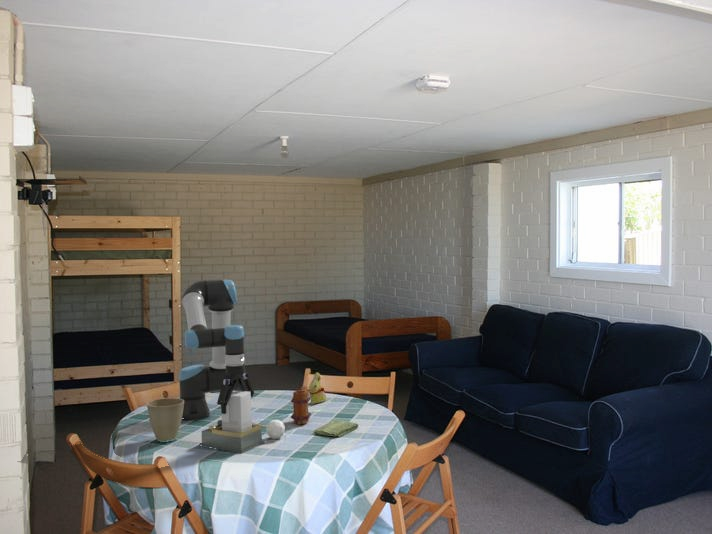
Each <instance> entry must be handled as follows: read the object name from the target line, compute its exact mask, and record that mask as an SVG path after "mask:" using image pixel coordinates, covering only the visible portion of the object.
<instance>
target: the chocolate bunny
mask: <svg viewBox="0 0 712 534" xmlns="http://www.w3.org/2000/svg"><path fill="white" fill-rule="evenodd" d="M322 378H323V375H321V374H320V373H319V372H315V373H314V375H313V378H312V380H311V382H310V383H309V385H308V394H309V398H310V404H311V405H315V404H319V403H322V402H326V401H327V396H326V391H325V388H324V387H323V386H322V385H321V381H322Z"/></svg>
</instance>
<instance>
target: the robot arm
mask: <svg viewBox="0 0 712 534" xmlns="http://www.w3.org/2000/svg"><path fill="white" fill-rule="evenodd" d="M181 304H182V305H181V306H182V307H183V308H184V309H185V310H184V311H185V315H186V321H187V329H188V330H185V331H184V346H185V348H186V349H188V350H189V349H191V350H193V349H195V350H196V349H207V348H211V350H212V351H211V352H212V354H211V355H212V356H211V357H212V358H211V359H212V360H211V361H210V362H209V364H208V365H209V366H208V367H206V366H205V365H204V364H193V365H189V366H185V367H183V368H181V369H180V370H179V373H178V375H179V377H178V381H179V399H182V400H184V407H183V414H182V418H184V419H194V420H199V418H201V419H205V418H208V417H210V416H211V415H210V414H211V410H210V407H209V405H208V402H207V398H206V393H216V392H219V395H218V398H217V401H216V404H217V406H218V405H219V406H220V409H221V420H222V421H223V422H229V405H227V403H228V401H229V399H230V396H231V394H232V392H233V391H236V390H235V389H238V388H239V389H240V391H248V392H251V398H253V397H254V395H255V390H254V388H253V385H252V383H251V380H250V375H249V373H246V365H245V331H244V326H243V325H240V324H232V325H231V318H232V316H231V312H232V311H233V310H234V308H235V306H236V305H238V296H237V290H236V286H235V283H234V281H233V280H231V279H214V280H213V279H211V280H209V279H208V280H197V281H195V282H193V283H191V284H190V285H189V286H188V287H187V288H185V290H184V291H183V293H182V296H181ZM204 307H208V308H207V309H208V311H209V312H211V328H208V325H207V322H206V316H205V311H204V310H205V309H204ZM204 417H205V418H204Z"/></svg>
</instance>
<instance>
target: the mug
mask: <svg viewBox="0 0 712 534" xmlns="http://www.w3.org/2000/svg"><path fill="white" fill-rule="evenodd" d="M292 396H293V397H292V398H291V400H290V402H291V403H292V404H293V413H292V415H291V416H290V418H291V419H292V420H293V422H294V424H295V425H306V424H307V423H309V421H310V420H309V419H310V418H311V415H312V413H311V412H309V401H311V397H310V393H309V387H307V385H302V386H301V388H300V390H295V391H293V394H292Z"/></svg>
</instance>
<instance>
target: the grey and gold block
mask: <svg viewBox="0 0 712 534" xmlns="http://www.w3.org/2000/svg"><path fill="white" fill-rule="evenodd" d="M216 423H217V424H216V425H209V426H208V428H206V429H204V430H202V431H201V442H200V443H199V444H198V446H199V445H202V446H206V447H212V448H216V449H215V450H218V449H222V450H221V451H224V450H227V451H226V452H230V451H232V452H231V453H236V452H237V453H236V454H244V453H246V452H248V451H251V450H252V449H255V448H257V447H259V446H262V445H264V444H265V443H266V442H265V441H266V440H264V439H262V438H263V437H262V436H263V435H262V433H263V432H262V429H263V424H260V423H255V422H252V428H251V429H248V430H246V431H243V432H241V433H236V432H229V431H223V430H222V419H219V420H217V421H216ZM206 447H205V448H206ZM212 448H211V449H212Z"/></svg>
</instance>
